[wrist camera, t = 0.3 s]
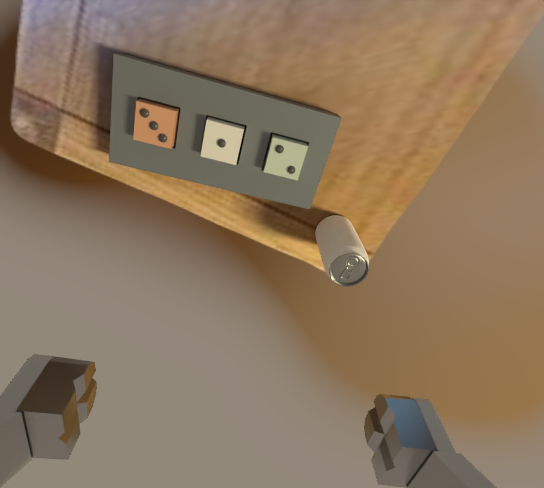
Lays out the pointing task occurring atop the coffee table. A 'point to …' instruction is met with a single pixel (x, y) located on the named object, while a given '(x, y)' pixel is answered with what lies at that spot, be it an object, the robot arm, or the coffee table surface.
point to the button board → (194, 112)
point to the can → (341, 251)
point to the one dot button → (222, 140)
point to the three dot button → (156, 123)
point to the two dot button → (285, 156)
